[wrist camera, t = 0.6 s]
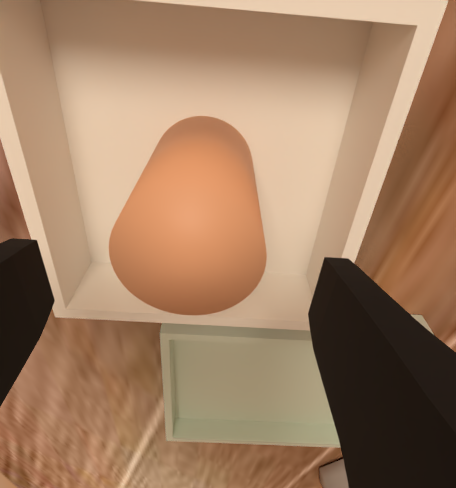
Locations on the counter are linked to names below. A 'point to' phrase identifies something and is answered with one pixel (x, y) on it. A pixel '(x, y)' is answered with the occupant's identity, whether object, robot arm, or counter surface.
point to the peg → (192, 222)
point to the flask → (334, 475)
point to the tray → (244, 386)
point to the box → (213, 105)
